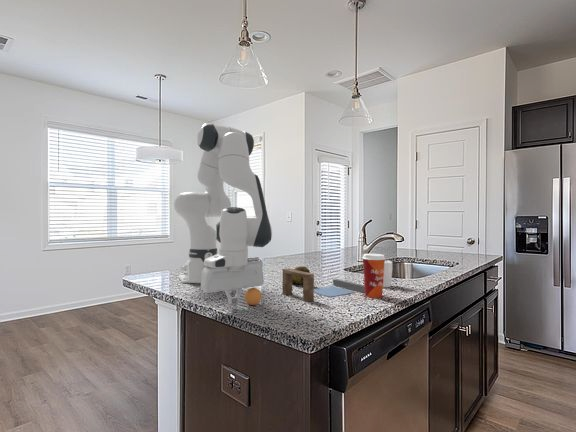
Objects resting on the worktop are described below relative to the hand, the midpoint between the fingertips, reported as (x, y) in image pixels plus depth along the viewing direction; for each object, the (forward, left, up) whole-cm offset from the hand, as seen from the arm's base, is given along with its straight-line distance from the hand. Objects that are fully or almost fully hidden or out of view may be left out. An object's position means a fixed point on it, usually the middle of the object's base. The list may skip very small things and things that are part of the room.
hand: (233, 303), depth 107 cm
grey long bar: (+1, +50, -2) cm, 51 cm away
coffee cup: (+14, +49, -2) cm, 51 cm away
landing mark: (0, +41, -2) cm, 41 cm away
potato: (-18, +39, -2) cm, 43 cm away
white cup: (+4, +66, -2) cm, 66 cm away
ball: (0, +7, +1) cm, 7 cm away
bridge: (0, +25, -2) cm, 25 cm away
